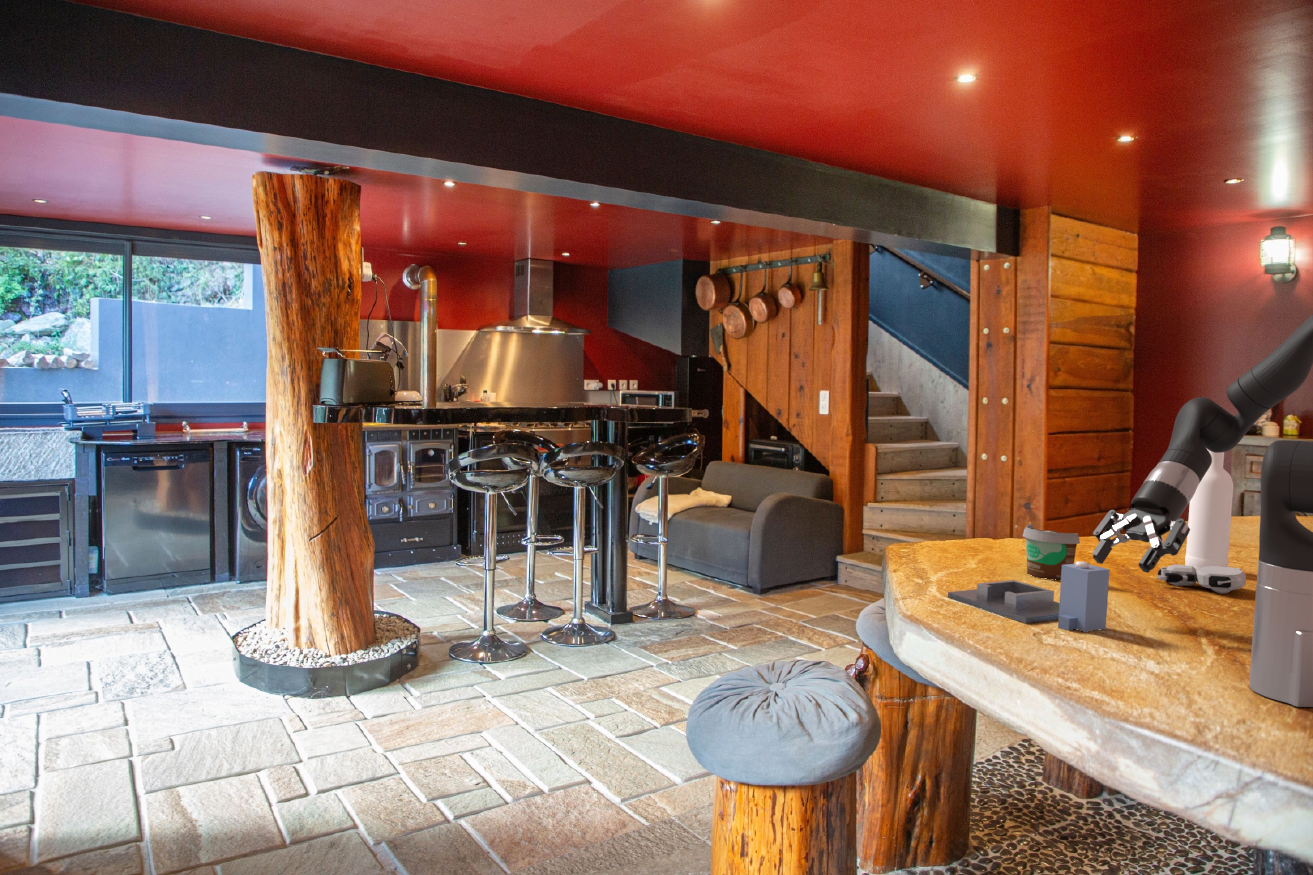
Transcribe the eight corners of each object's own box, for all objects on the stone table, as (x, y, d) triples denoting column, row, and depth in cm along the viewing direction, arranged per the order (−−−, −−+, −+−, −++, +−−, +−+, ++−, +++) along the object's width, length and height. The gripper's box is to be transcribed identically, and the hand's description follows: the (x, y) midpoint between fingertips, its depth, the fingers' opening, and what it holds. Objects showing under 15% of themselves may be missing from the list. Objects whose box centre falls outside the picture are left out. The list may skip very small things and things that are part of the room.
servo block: (1105, 629, 139) (1109, 564, 139) (1076, 633, 137) (1080, 567, 136) (1079, 621, 144) (1083, 558, 143) (1050, 624, 141) (1054, 560, 141)
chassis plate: (1084, 616, 147) (1086, 596, 147) (1025, 623, 142) (1026, 603, 141) (1003, 591, 164) (1004, 573, 163) (947, 597, 158) (948, 578, 158)
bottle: (1176, 567, 190) (1185, 434, 188) (1202, 566, 193) (1212, 434, 191) (1208, 575, 183) (1218, 437, 181) (1236, 574, 185) (1246, 437, 183)
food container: (1007, 571, 182) (1010, 525, 182) (1028, 569, 185) (1030, 523, 184) (1056, 584, 171) (1059, 535, 170) (1077, 582, 174) (1080, 533, 173)
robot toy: (1155, 592, 171) (1246, 599, 162) (1155, 569, 171) (1245, 575, 162) (1160, 581, 181) (1246, 587, 172) (1159, 560, 181) (1245, 565, 172)
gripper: (1216, 512, 142) (1169, 587, 138) (1137, 503, 155) (1092, 571, 151) (1196, 482, 140) (1148, 557, 135) (1118, 475, 153) (1071, 544, 148)
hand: (1119, 564), depth 143 cm, fingers open, 8 cm apart
